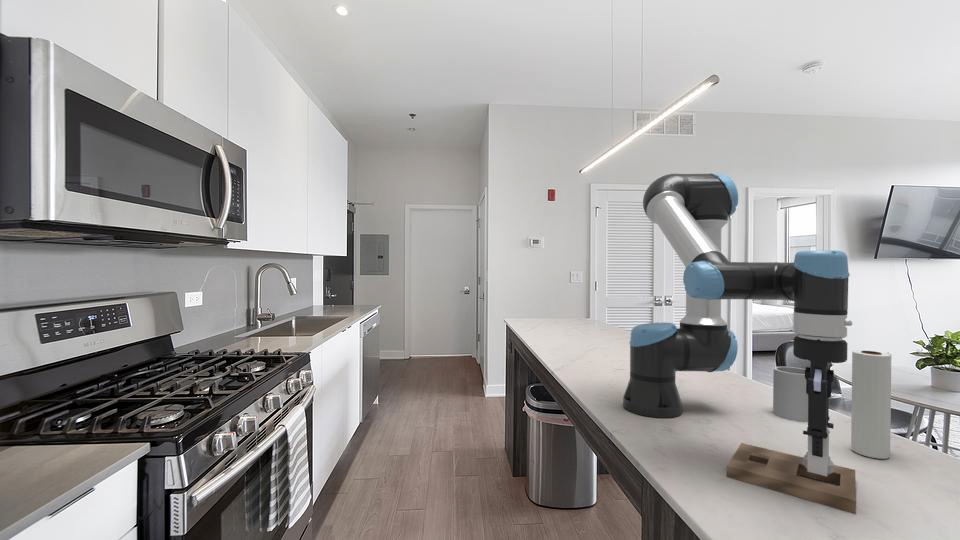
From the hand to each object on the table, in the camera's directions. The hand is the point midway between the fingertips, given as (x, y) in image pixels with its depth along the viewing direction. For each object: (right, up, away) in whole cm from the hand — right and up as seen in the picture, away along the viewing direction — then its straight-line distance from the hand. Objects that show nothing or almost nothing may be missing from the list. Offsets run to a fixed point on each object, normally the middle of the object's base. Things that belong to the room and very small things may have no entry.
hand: (818, 467), depth 76 cm
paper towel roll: (+22, -4, +14) cm, 26 cm away
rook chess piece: (0, 0, 0) cm, 0 cm away
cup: (+23, -4, +37) cm, 44 cm away
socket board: (-3, -3, +3) cm, 5 cm away
